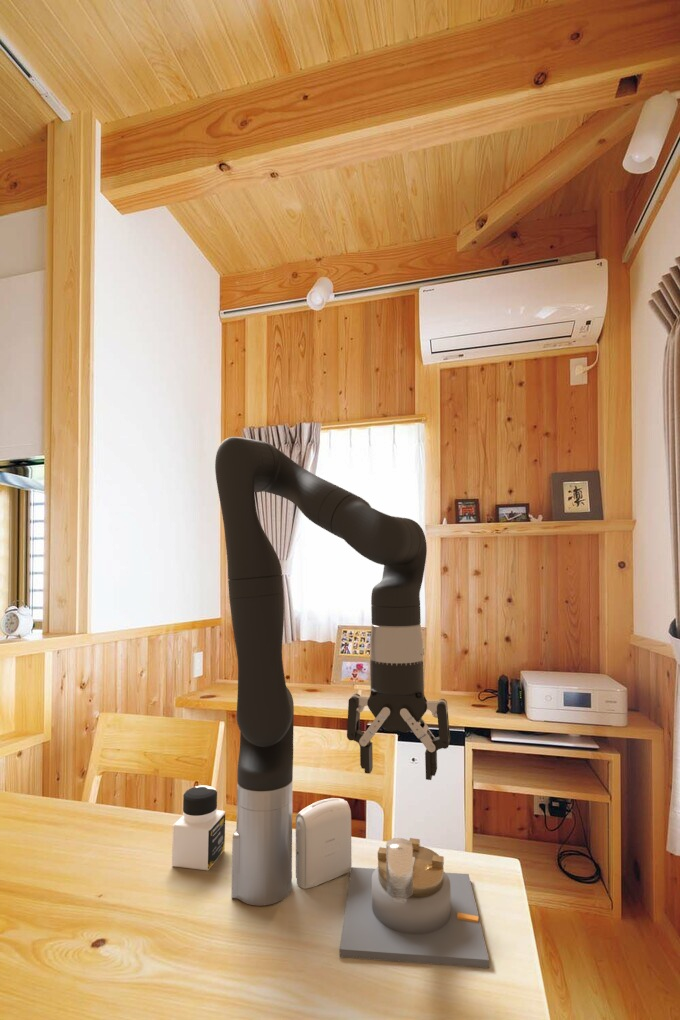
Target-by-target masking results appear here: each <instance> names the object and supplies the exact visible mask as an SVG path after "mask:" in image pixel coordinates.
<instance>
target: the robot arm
mask: <svg viewBox="0 0 680 1020" xmlns="http://www.w3.org/2000/svg"><path fill="white" fill-rule="evenodd" d="M214 462H215V463H214V465H215V466H214V468H215V469H214V472H215V481H216V485H217V492H218V497H219V503H220V508H221V509H220V510H221V514H222V522H223V528H224V542H225V550H226V559H227V560H226V562H227V583H228V584H227V586H228V597H229V605H230V606H229V607H230V616H231V623H232V629H233V630H232V631H233V639H234V644H235V650H236V657H237V659H236V660H237V698H236V700H237V701H236V723H237V727H238V729H239V733H240V734H239V737H240V738H239V751H238V762H237V768H236V769H237V772H236V773H237V775H236V777H237V780H236V781H237V782H236V783H237V785H236V829H235V831H234V832H233V834H232V840H231V841H232V843H231V844H232V845H231V846H232V851H231V854H232V855H231V898H232V899H237V900H240V901H241V902H243V903H244V904H247V905H251V906H262V907H263V906H270V905H273V904H276V903H279V902H281V901H282V900H284V899H286V897H288V896H289V894H291V891H292V887H293V884H292V883H293V783H294V782H293V778H294V777H293V775H294V774H293V773H294V772H293V770H294V728H295V727H294V721H295V720H294V717H295V716H294V715H295V714H294V712H295V710H294V709H295V707H294V706H295V705H294V699H293V698H294V697H293V696H292V692H291V691H290V689H289V688H288V687H287V683H286V678H285V671H284V664H283V637H284V624H285V595H284V581H283V571H282V564H281V561H280V558H279V556H278V554H277V552H276V550H275V549H274V547H273V545H272V542H271V540H270V539H269V537H268V535H267V534H266V532H265V530H264V529H263V526H262V524H261V522H260V519H259V515H258V510H257V505H256V497H255V496H256V494H255V493H261V492H264V493H268V494H273V495H275V496H279V497H281V498H283V499H286V500H288V501H290V502H291V503H292V504H294V505H295V506H297V508H298V510H299V511H300V512H301V513H302V515H304V516H305V517H306V518H307V520H309V521H310V522H312V523H313V524H315V525H317V526H318V527H320V528H322V529H323V530H324V531H327V532H328V533H331V534H332V535H334V536H336V537H339V538H340V539H342V540H344V542H345V543H347V544H348V546H350V547H351V548H352V549H353V550H355V552H357V553H358V554H359V555H361V556H362V557H364V558H365V559H367V560H369V561H371V562H373V563H375V564H378V565H382V566H383V572H382V579H381V580H380V582H378V583H377V584H375V586H374V587H373V588H372V591H371V595H370V596H371V600H370V601H371V604H370V605H371V606H370V607H371V608H370V609H371V613H370V614H371V624H370V625H371V628H370V629H371V630H370V639H369V652H370V653H369V656H370V658H369V659H370V661H369V662H370V663H369V664H370V666H369V668H370V669H369V670H370V673H369V674H370V694H369V697H367V696H361V695H360V694H359V693H354V694H352V696H351V697H349V699H348V702H347V703H348V706H347V708H348V709H347V724H346V726H347V728H346V738H347V740H349V741H353V742H356V743H358V745H359V755H360V758H359V762H360V763H359V764H360V768H361V769H363V770H364V774H367V775H368V774H369V775H370V774H371V773H372V771H373V767H374V765H373V763H374V762H373V742H372V741H371V740H372V739H373V738H374V736H375V735H376V733H377V732H378V731H379V729H381V728H382V729H384V730H385V731H386V732H393V731H398V732H401V733H409V732H410V731H412V733H413V734H414V735H415V736H416V738H417V739H418V740H420V742H421V743H422V745H423V746H424V747H425V752H424V755H425V757H424V758H425V759H424V760H425V763H424V765H425V780H428V781H432V779H433V776H434V777H436V774H437V770H438V750H442V749H444V750H447V749H448V748H449V746H450V741H451V734H450V732H451V731H450V721H449V720H450V719H449V709H448V702H447V700H446V699H444V698H441V699H439V700H427V698H426V696H425V677H424V676H425V675H424V674H425V673H424V672H425V671H424V655H425V651H424V650H425V648H424V641H423V639H424V638H423V633H422V626H421V625H422V624H421V623H422V621H421V619H422V617H421V597H420V594H421V589H422V583H423V579H424V574H425V567H426V562H427V549H428V547H427V546H428V545H427V539H426V536H425V532H424V530H423V528H422V527H421V525H420V524H419V523H418V522H416V521H415V520H414V519H411V518H407V517H400V516H394V515H389V514H387V513H384V512H381V511H379V510H377V509H375V508H373V507H372V506H371V504H370V503H369V502H368V501H366V499H364V498H362V496H358V495H357V494H354V493H353V492H351V491H348V490H346V489H344V488H342V487H340V486H339V485H336V484H335V483H333V482H330V481H328V480H325V479H323V478H321V477H319V476H318V475H315V474H314V473H312V472H310V471H309V470H307V469H305V468H304V467H302V466H301V465H300V464H298V463H296V461H294V459H292V458H290V457H289V456H288V455H287V454H285V453H284V452H282V450H280V449H278V448H277V447H276V446H274V445H273V444H271V443H269V442H266V441H263V440H257V439H253V438H247V437H241V436H230V437H228V438H226V439H224V440H223V441H222V442H221V443H220V445H219V446H218V448H217V451H216V454H215V461H214ZM366 706H367V707H368V709H369V711H370V712H371V714H372V715H373V717H374V718H375V719H373V720H372V722H371V724H370V725H369V726H368V728H367V729H366V731H363V730H360V723H361V720H360V719H361V713H362V712H363V711H364V710H365V707H366ZM428 710H429V711H430V712H431V714H432V717H434V718H435V719H437V727H438V736H437V737H435V735H434V734H433V733H432V731H431V729H429V726H428V724H427V723H426V721H425V720H424V719H423V716H425V714H426V712H427V711H428Z"/></svg>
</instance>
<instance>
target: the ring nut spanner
mask: <svg viewBox="0 0 680 1020" xmlns="http://www.w3.org/2000/svg"><path fill="white" fill-rule="evenodd" d="M444 860H445V856H443V855H439V854H438V853H437V852H435V851H434V850H432V849H430V848H428V847H424V846H421V839H420V838H413V837H410V838H409V839H407V838H401V837H395V838H391V839H388V840H387V841H386V844H385V847H381V846H380V847H379V848H378V851H377V867H378V879H379V882H380V883H381V885H382V886H383V887H384V888H385V889H386V890H387V893H388V894H389V895H390V896H391V897H393V901H394V902H400V903H406V901H407V898H421V897H427V896H430V895H433V894H435V893H437V892H438V891H439V890H440V889H441V888H442V886H443V883H444V872H445V871H444V862H445V861H444Z"/></svg>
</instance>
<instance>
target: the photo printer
mask: <svg viewBox="0 0 680 1020" xmlns="http://www.w3.org/2000/svg"><path fill="white" fill-rule="evenodd" d="M351 867H352V810H351V808H350V805H349V803H348V801H347V800H345V799H344V798H340V797H339V798H338V797H330V798H325V799H320V800H318V801H315V802H313V803H312V804H310V805H307V806H306V807H304V808H302V809H301V810H300V811H299V812H298V813H297V814H296V816H295V879H296V884H297V886H298V887H299V888H301V889H304V890H305V889H310V888H314V887H317V886H318V885H321V884H324V883H326V882H329V881H333V880H335V879H337V878H338V877H341V876H343V875H345V874H347V873H349V872H351Z"/></svg>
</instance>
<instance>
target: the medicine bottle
mask: <svg viewBox="0 0 680 1020" xmlns="http://www.w3.org/2000/svg"><path fill="white" fill-rule="evenodd" d="M182 797H183V799H182V800H183V803H182V805H183V806H182V816H181V817H180V818H179V819H178V820H177V821H176V822H175V823H173V825H172V850H171V854H172V855H171V866H172V867H174V868H175V867H176V868H185V869H191V870H201V871H210V869H211V868H212V867H213V865H214V864H215V863H216V862H217V860H218V859H219V857H220V856H221V855H222V854H223V853H224V851H225V848H226V847H225V843H226V840H225V839H226V811H225V810H219V809H218V791H217V789H216V788H215V787H213V786H209V785H203V784H202V785H196V786H193V787H191V788H189V789H187V790H186V791H185V792H184V794H183V795H182Z"/></svg>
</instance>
